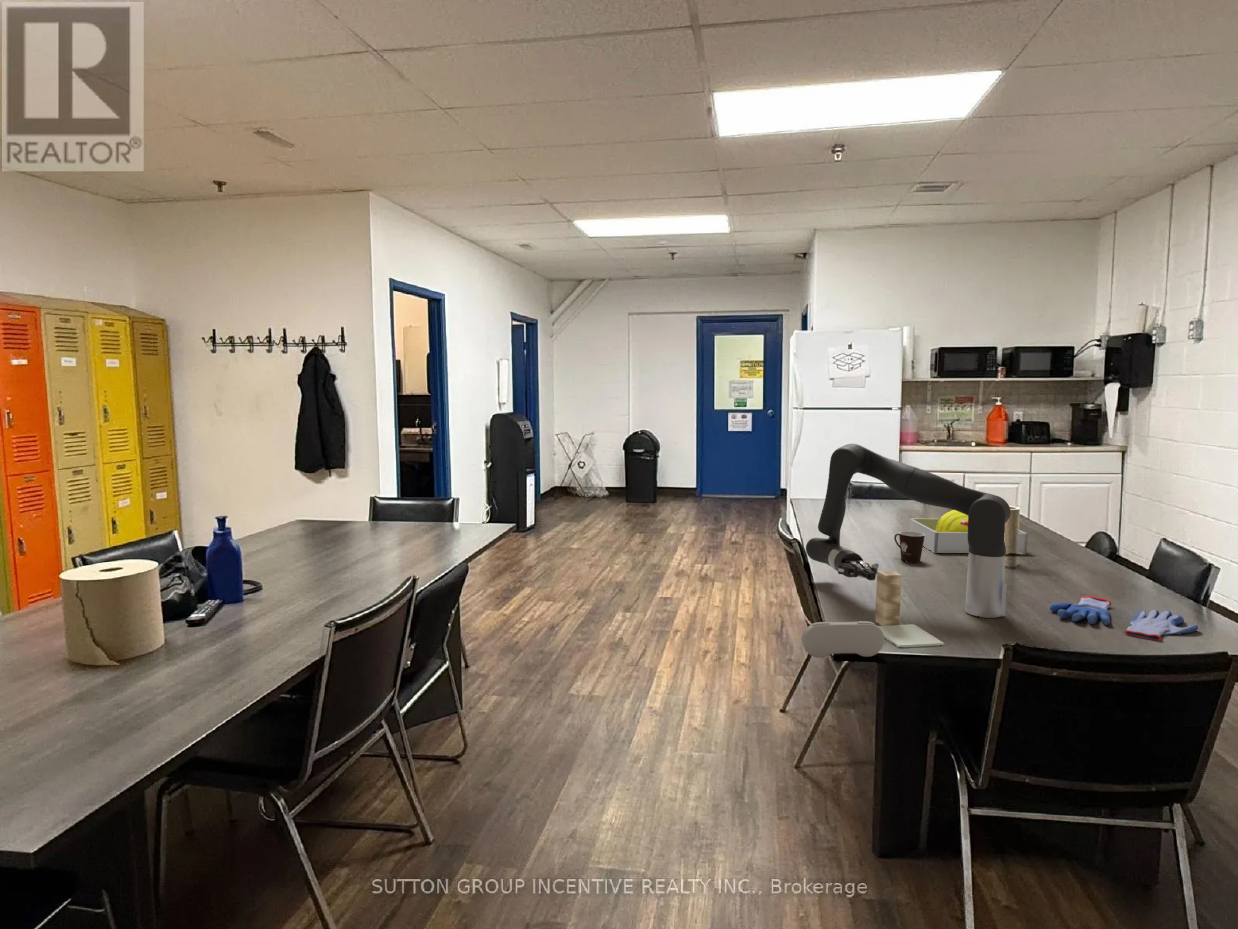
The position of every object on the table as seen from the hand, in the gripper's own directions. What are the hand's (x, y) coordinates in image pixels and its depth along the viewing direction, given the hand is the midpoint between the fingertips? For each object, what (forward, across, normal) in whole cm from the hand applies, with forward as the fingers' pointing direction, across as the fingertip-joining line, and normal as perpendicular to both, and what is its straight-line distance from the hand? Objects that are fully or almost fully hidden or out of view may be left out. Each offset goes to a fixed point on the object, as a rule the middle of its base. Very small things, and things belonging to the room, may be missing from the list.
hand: (872, 576), depth 206 cm
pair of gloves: (+15, +65, +11) cm, 68 cm away
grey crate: (-74, +76, +10) cm, 107 cm away
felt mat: (+19, 0, +10) cm, 22 cm away
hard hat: (-74, +74, +11) cm, 105 cm away
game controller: (+29, -22, +11) cm, 38 cm away
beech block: (+9, 0, +10) cm, 14 cm away
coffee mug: (-56, +43, +11) cm, 71 cm away
